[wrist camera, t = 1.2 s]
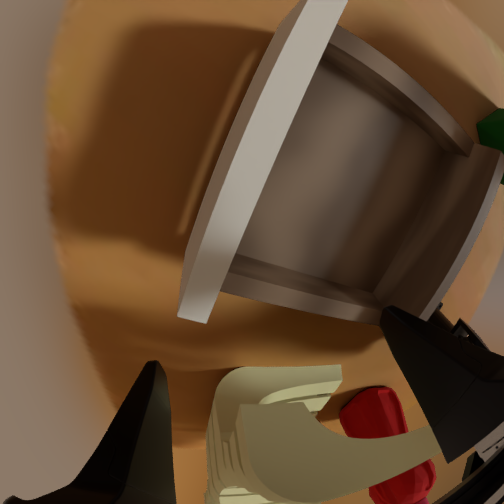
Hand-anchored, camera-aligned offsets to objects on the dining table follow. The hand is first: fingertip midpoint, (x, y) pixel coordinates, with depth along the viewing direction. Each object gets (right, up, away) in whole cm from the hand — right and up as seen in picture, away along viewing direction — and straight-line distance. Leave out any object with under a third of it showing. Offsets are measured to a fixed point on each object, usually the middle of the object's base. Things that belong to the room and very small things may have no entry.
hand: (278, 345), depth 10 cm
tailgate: (-1, +10, +7) cm, 12 cm away
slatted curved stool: (+1, -16, +23) cm, 28 cm away
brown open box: (+6, +9, +11) cm, 15 cm away
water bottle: (+17, -21, +28) cm, 40 cm away
